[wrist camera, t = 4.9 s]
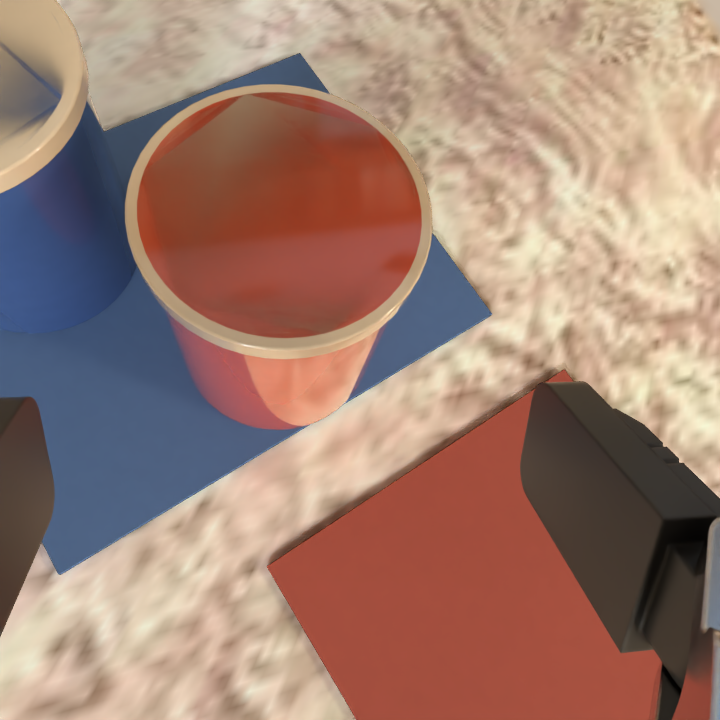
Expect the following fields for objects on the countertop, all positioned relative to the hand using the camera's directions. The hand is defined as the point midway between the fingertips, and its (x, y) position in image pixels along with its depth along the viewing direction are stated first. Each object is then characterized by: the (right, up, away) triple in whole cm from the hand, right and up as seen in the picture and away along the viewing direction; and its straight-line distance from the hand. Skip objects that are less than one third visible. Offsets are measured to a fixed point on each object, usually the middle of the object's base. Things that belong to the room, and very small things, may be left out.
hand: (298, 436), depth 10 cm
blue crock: (-10, +5, +11) cm, 15 cm away
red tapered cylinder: (-2, +2, +11) cm, 11 cm away
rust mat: (+6, -6, +9) cm, 13 cm away
